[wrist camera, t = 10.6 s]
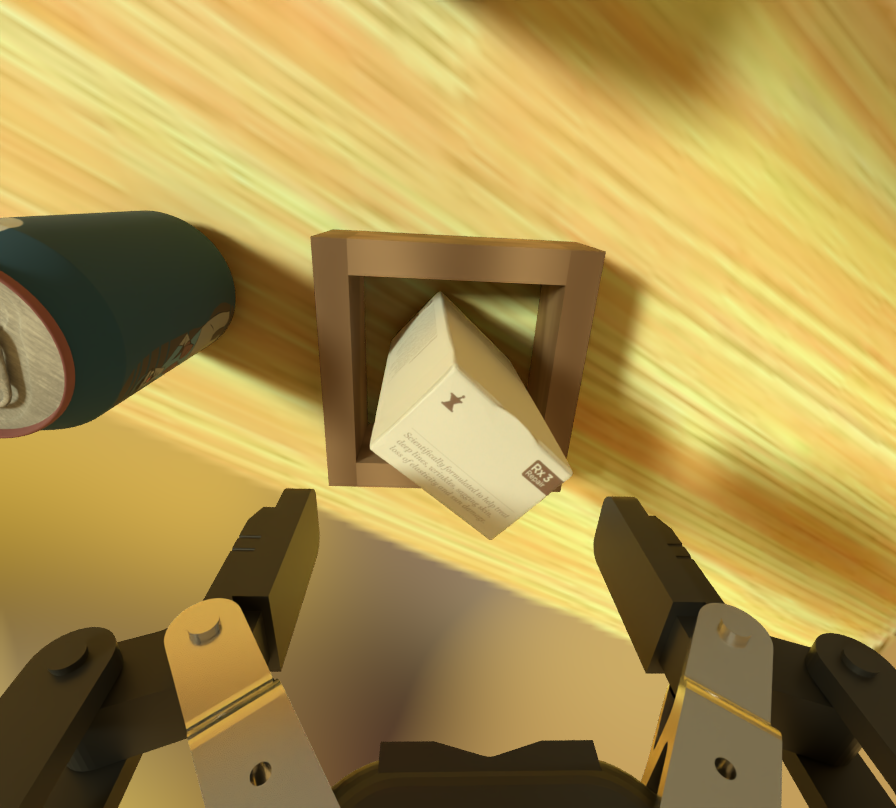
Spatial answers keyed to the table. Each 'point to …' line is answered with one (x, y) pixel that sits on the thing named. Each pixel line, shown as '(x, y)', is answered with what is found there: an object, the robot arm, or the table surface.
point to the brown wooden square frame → (447, 258)
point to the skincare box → (464, 422)
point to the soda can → (100, 311)
